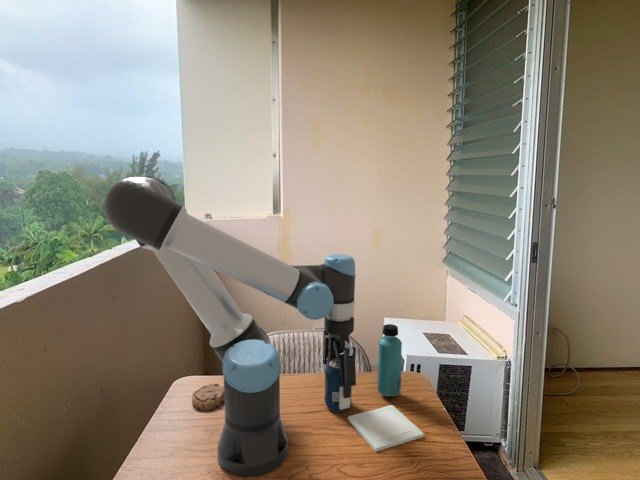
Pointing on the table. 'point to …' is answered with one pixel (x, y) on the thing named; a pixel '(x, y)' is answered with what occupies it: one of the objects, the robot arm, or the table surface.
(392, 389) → the beverage bottle
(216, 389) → the cookie
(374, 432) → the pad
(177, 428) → the table surface
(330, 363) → the soda can
